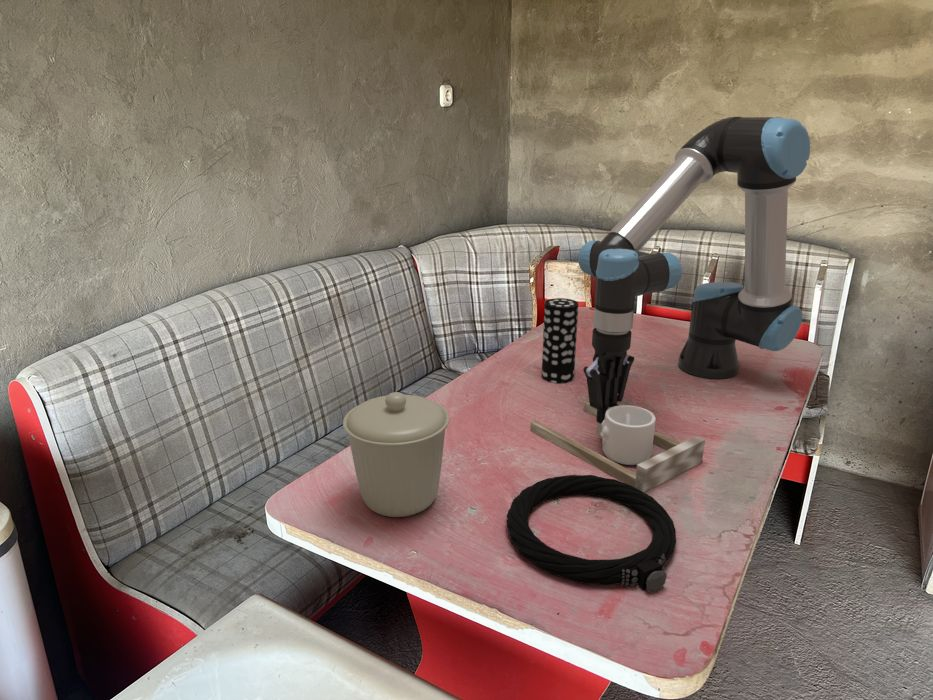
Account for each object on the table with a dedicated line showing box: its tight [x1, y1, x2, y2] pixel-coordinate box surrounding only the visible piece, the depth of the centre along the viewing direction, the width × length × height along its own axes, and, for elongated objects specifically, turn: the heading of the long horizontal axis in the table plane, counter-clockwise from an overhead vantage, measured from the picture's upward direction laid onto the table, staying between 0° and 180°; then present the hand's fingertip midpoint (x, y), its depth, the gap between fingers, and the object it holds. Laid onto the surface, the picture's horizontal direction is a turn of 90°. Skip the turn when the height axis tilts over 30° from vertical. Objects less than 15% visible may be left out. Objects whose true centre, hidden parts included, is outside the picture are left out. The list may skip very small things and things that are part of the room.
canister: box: [342, 391, 451, 518], centre depth 114 cm, size 18×18×21 cm
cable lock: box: [506, 474, 677, 594], centre depth 108 cm, size 28×4×30 cm
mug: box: [599, 404, 657, 466], centre depth 132 cm, size 12×10×9 cm
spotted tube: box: [541, 297, 579, 384], centre depth 166 cm, size 8×8×20 cm
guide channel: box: [530, 400, 706, 493], centre depth 135 cm, size 18×30×5 cm, turn 37°
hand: (603, 435), depth 138 cm, fingers closed
